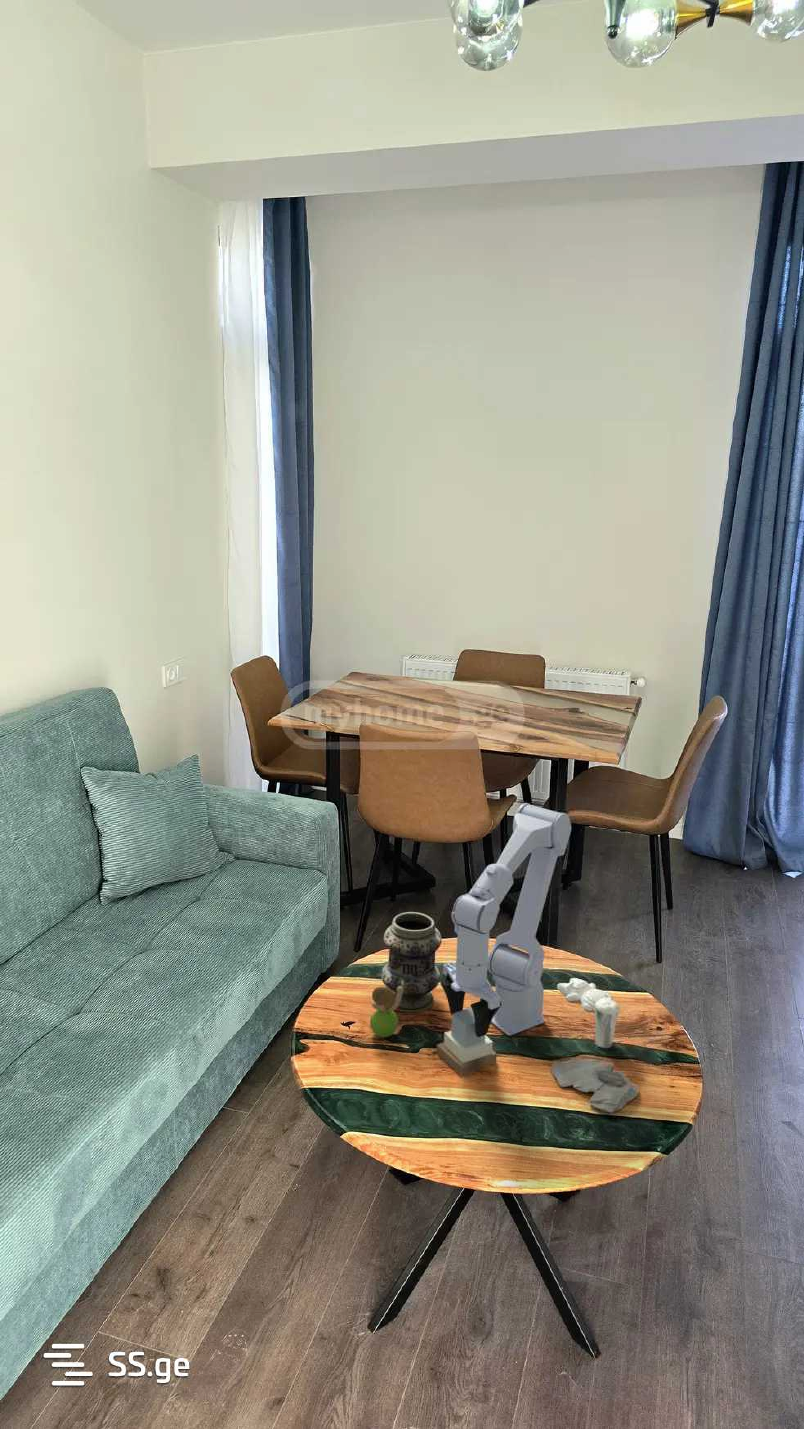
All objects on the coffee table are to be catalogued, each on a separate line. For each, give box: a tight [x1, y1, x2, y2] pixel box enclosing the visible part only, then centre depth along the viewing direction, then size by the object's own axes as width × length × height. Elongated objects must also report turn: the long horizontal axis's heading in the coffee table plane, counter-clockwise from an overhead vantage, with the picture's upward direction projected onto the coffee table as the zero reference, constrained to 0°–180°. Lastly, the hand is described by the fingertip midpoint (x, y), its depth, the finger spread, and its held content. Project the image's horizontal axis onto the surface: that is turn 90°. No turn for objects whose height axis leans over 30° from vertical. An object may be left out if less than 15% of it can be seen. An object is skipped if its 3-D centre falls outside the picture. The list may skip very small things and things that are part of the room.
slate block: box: [450, 1006, 485, 1048], centre depth 177 cm, size 4×4×4 cm
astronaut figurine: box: [556, 977, 613, 1012], centre depth 200 cm, size 9×12×3 cm
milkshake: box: [592, 998, 620, 1049], centre depth 183 cm, size 5×5×10 cm
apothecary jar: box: [380, 911, 443, 1014], centre depth 195 cm, size 12×12×18 cm
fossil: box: [550, 1058, 639, 1113], centre depth 172 cm, size 17×11×2 cm
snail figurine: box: [369, 981, 404, 1038], centre depth 183 cm, size 5×6×12 cm
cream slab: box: [443, 1030, 494, 1063], centre depth 178 cm, size 6×6×2 cm
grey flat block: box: [435, 1041, 497, 1077], centre depth 178 cm, size 8×8×2 cm
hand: (468, 1024), depth 177 cm, fingers open, 7 cm apart
